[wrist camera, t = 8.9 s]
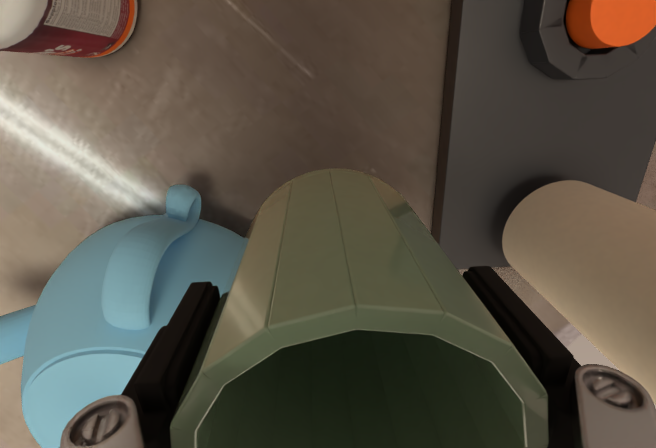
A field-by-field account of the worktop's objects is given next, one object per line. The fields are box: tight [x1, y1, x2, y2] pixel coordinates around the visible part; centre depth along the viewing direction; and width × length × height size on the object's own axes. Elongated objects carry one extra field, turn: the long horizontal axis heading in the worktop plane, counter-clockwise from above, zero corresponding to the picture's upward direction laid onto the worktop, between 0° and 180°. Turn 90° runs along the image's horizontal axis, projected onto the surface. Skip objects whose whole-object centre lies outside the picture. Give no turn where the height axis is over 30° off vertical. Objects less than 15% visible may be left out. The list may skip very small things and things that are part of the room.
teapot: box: [0, 184, 244, 448], centre depth 21 cm, size 20×20×13 cm
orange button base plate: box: [432, 0, 656, 269], centre depth 21 cm, size 19×13×4 cm
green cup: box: [170, 168, 549, 448], centre depth 11 cm, size 7×7×9 cm
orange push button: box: [566, 0, 656, 49], centre depth 17 cm, size 4×4×2 cm
